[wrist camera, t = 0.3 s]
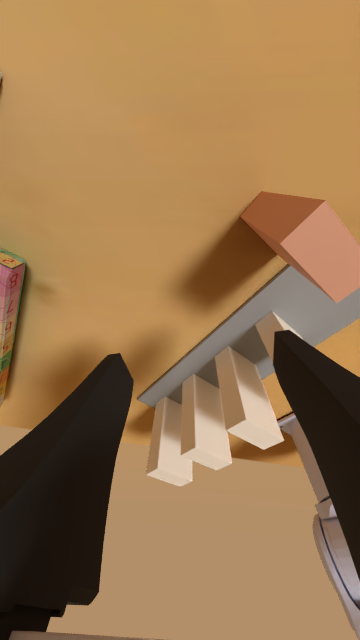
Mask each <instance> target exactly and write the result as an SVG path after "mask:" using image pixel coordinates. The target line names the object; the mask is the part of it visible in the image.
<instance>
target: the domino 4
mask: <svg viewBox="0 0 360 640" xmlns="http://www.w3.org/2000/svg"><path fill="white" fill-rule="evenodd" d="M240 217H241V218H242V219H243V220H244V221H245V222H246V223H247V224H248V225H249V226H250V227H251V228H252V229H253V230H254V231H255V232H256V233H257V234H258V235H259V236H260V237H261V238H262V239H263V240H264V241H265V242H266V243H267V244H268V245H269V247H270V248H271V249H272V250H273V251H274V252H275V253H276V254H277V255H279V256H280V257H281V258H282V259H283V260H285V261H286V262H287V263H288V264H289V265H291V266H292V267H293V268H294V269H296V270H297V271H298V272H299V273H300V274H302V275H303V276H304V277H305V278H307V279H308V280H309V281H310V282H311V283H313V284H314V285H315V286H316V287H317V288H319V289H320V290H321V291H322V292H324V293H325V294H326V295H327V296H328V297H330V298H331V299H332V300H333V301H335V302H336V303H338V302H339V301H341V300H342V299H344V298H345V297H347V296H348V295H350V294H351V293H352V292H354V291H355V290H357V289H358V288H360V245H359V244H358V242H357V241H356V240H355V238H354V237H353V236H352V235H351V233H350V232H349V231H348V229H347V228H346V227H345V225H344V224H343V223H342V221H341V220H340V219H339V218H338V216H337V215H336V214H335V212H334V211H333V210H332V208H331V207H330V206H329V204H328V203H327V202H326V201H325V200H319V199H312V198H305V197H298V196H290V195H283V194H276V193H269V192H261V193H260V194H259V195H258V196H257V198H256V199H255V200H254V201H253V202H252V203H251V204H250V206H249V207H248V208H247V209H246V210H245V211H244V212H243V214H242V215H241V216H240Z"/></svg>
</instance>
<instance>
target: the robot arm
mask: <svg viewBox="0 0 360 640" xmlns="http://www.w3.org/2000/svg"><path fill="white" fill-rule="evenodd" d="M273 367H274V370H275V372H276V375H277V378H278V381H279V383H280V386H281V388H282V390H283V392H284V394H285V396H286V398H287V400H288V402H289V404H290V406H291V408H292V410H293V412H294V413H292V414H290V415H288V416H286V417H284V418H283V419H281V420H279V421H277V423H278V425H279V428H280V429H281V430H282V431H284V432H286V433H287V434H289V435H291V436H292V438H293V441H294V443H295V445H296V448H297V450H298V453H299V455H300V458H301V460H302V463H303V465H304V468H305V470H306V472H307V475H308V477H309V480H310V482H311V485H312V487H313V490H314V492H315V495H316V497H317V499H318V502H319V503H318V504H315V507H316V509H317V511H318V514H316V515H315V516H314V521H313V534H314V539H315V542H316V546H317V549H318V552H319V555H320V558H321V560H322V563H323V565H324V568H325V570H326V572H327V575H328V577H329V579H330V581H331V583H332V585H333V587H334V589H335V590H336V592H337V594H338V596H339V598H340V601H341V603H342V605H343V608H344V610H345V613H346V615H347V618H348V620H349V623H350V625H351V627H352V629H353V630H354V631H355V633H356V636H357V638H358V639H359V640H360V377H358V376H356V375H355V374H353V373H351V372H350V371H348V370H346V369H345V368H343V367H342V366H340V365H339V364H337V363H336V362H334V361H333V360H331V359H330V358H328V357H327V356H325V355H324V354H322V353H321V352H320V351H318V350H317V349H315V348H314V347H313V346H311V345H310V344H308V343H307V342H306V341H304V340H303V339H301V338H300V337H299V336H297V335H296V334H295V333H293V332H292V331H290V330H283V331H276V332H274V352H273ZM133 382H134V381H133V379H132V377H131V375H130V373H129V371H128V369H127V367H126V365H125V363H124V361H123V359H122V356H121V354H120V353H118V354H110V355H108V356H107V357H105V358H104V359H103V360H102V362H101V363H100V364H99V365H98V366H97V367H96V368H95V369H94V370H93V371H92V372H91V373H90V374H89V375H88V377H87V378H86V379H85V380H84V381H83V382H82V383H81V384H80V385H79V386H78V387H77V388H76V389H75V390H74V391H73V392H72V393H71V394H70V395H69V396H68V397H67V398H66V399H65V400H64V401H63V402H62V403H61V404H60V405H59V406H58V407H57V408H56V409H55V410H54V411H53V412H52V413H51V414H50V415H49V416H48V417H47V418H45V419H44V420H43V421H42V422H41V423H40V424H39V425H37V426H36V427H35V428H34V429H33V430H32V431H31V432H29V433H28V434H27V435H26V436H25V437H24V438H22V439H21V440H20V441H19V442H17V443H16V444H15V445H13V446H12V447H11V448H9V449H8V450H7V451H6V452H4V453H3V454H2V455H1V456H0V640H161V639H145V638H130V637H113V636H99V635H84V634H68V633H67V634H66V633H52V632H46V630H47V627H48V623H49V620H50V617H62V616H63V615H64V612H65V608H66V605H68V604H69V605H89V604H90V603H91V602H92V601H93V600H94V598H95V597H96V596H97V594H98V592H99V584H100V583H99V582H100V572H101V562H102V552H103V541H104V534H105V525H106V518H107V510H108V503H109V497H110V490H111V483H112V478H113V472H114V466H115V461H116V456H117V452H118V448H119V444H120V440H121V437H122V433H123V429H124V426H125V422H126V418H127V415H128V411H129V407H130V403H131V398H132V391H133Z"/></svg>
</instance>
